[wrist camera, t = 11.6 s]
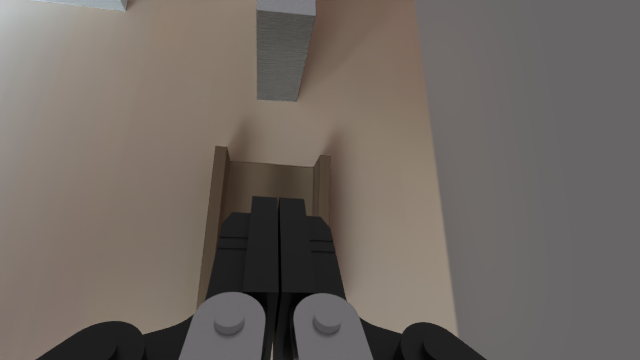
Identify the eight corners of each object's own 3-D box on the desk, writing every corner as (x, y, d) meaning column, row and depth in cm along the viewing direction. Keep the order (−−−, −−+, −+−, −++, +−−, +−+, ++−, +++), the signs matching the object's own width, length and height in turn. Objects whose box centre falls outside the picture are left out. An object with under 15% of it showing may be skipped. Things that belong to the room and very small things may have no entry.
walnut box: (201, 336, 25) (191, 347, 21) (220, 161, 29) (215, 146, 25) (316, 336, 26) (326, 346, 23) (321, 169, 30) (330, 156, 26)
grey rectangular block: (256, 99, 30) (256, 9, 20) (258, 5, 33) (258, -119, 22) (296, 101, 31) (315, 15, 21) (294, 9, 34) (311, -110, 23)
